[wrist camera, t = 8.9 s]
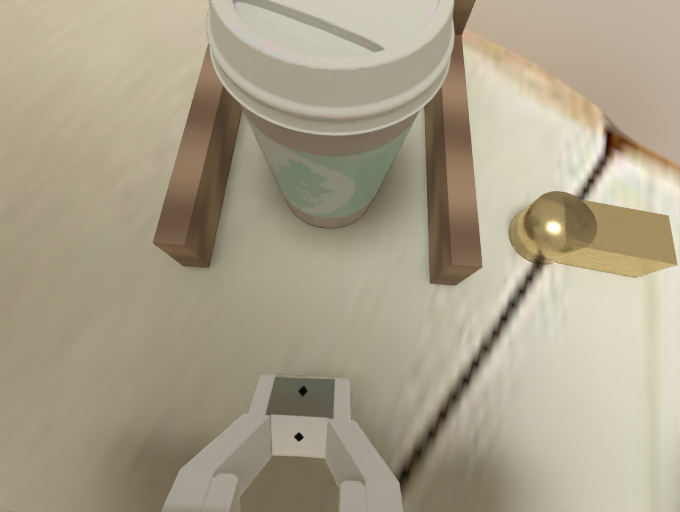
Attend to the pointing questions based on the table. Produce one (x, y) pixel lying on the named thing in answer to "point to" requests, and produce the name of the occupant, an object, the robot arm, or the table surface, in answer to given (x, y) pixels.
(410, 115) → the coffee cup
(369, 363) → the table surface
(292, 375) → the robot arm
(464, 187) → the brown wooden u-shaped frame
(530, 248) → the brass knob block
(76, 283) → the table surface
